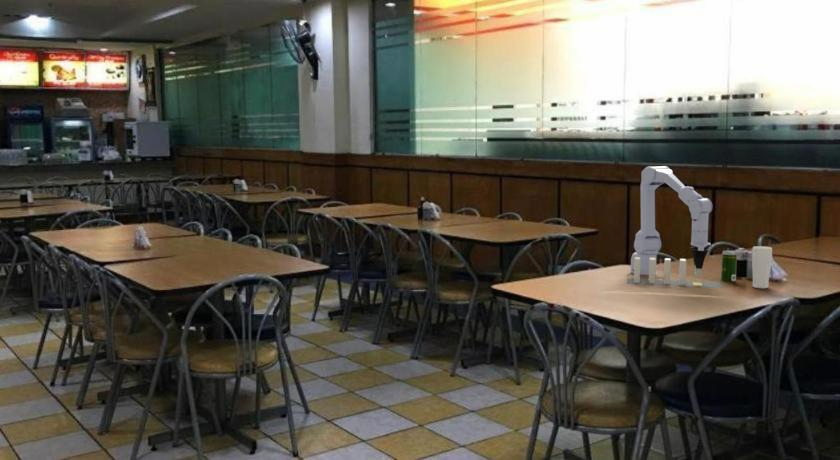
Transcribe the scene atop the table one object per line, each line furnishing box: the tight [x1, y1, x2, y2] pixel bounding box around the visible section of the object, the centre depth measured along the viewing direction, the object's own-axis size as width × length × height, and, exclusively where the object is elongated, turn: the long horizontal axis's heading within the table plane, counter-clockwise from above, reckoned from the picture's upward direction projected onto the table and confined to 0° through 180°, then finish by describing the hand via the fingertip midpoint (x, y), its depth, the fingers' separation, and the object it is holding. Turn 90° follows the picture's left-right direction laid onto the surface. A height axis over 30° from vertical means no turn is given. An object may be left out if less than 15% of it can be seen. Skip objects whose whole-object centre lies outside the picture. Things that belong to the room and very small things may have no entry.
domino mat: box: [626, 278, 723, 289], centre depth 307 cm, size 34×11×1 cm, turn 77°
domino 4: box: [678, 258, 687, 285], centre depth 306 cm, size 2×5×9 cm, turn 167°
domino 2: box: [648, 258, 657, 283], centre depth 308 cm, size 2×5×9 cm, turn 167°
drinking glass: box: [751, 245, 773, 289], centre depth 302 cm, size 7×7×15 cm
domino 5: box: [694, 265, 703, 277], centre depth 304 cm, size 2×5×9 cm, turn 167°
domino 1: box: [633, 257, 641, 283], centre depth 309 cm, size 2×5×9 cm, turn 166°
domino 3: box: [663, 257, 672, 284], centre depth 307 cm, size 2×5×9 cm, turn 167°
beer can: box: [720, 249, 738, 283], centre depth 312 cm, size 5×5×12 cm
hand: (698, 267), depth 304 cm, fingers closed on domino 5, 5 cm apart
